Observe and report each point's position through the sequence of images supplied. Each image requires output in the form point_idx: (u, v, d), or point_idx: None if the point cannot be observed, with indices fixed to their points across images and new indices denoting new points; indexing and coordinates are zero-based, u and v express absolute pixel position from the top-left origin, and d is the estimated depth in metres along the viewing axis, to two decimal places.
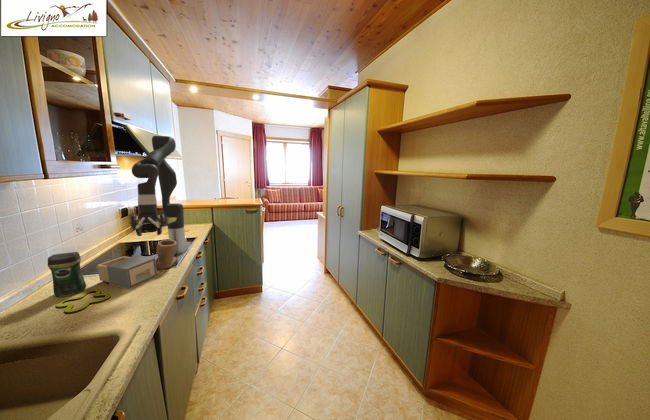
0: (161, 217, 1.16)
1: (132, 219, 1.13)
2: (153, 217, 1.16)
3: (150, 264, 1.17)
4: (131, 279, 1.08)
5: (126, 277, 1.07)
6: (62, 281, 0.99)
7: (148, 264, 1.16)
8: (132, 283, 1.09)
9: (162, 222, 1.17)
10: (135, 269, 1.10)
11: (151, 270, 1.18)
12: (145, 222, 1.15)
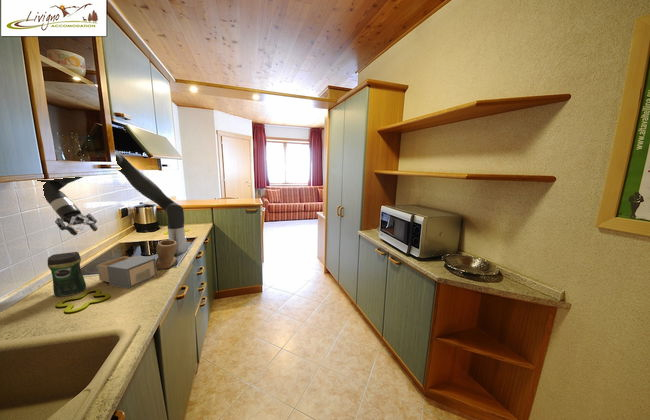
0: None
1: None
2: None
3: (150, 264, 1.17)
4: (131, 279, 1.08)
5: (126, 277, 1.07)
6: (62, 281, 0.99)
7: (148, 264, 1.16)
8: (132, 283, 1.09)
9: None
10: (135, 269, 1.10)
11: (151, 270, 1.18)
12: None
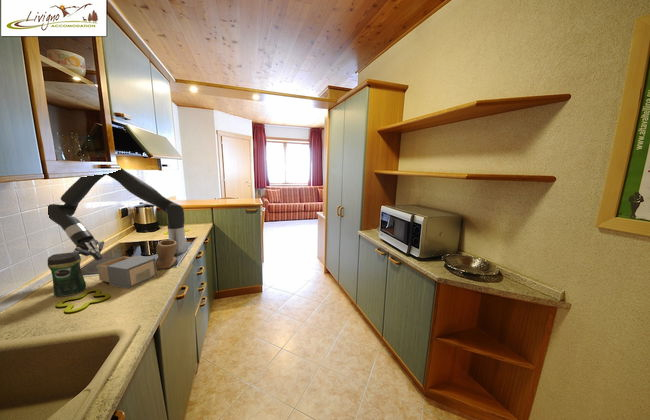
0: None
1: None
2: None
3: (150, 264, 1.17)
4: (131, 279, 1.08)
5: (126, 277, 1.07)
6: (62, 281, 0.99)
7: (148, 264, 1.16)
8: (132, 283, 1.09)
9: None
10: (135, 269, 1.10)
11: (151, 270, 1.18)
12: None
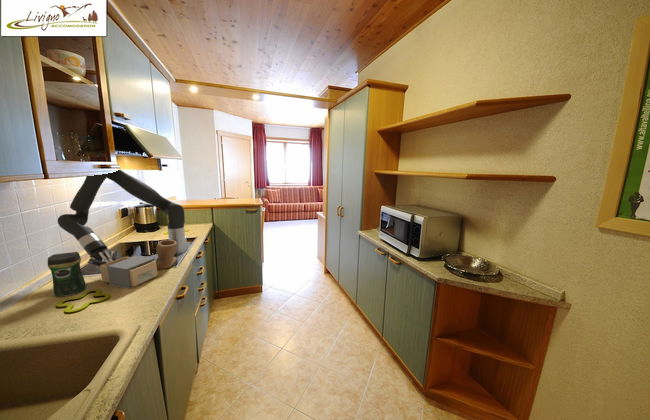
0: None
1: None
2: None
3: (153, 264, 1.17)
4: (134, 279, 1.08)
5: (126, 277, 1.07)
6: (62, 281, 0.99)
7: (151, 264, 1.16)
8: (135, 283, 1.08)
9: None
10: (138, 269, 1.09)
11: (153, 270, 1.17)
12: None
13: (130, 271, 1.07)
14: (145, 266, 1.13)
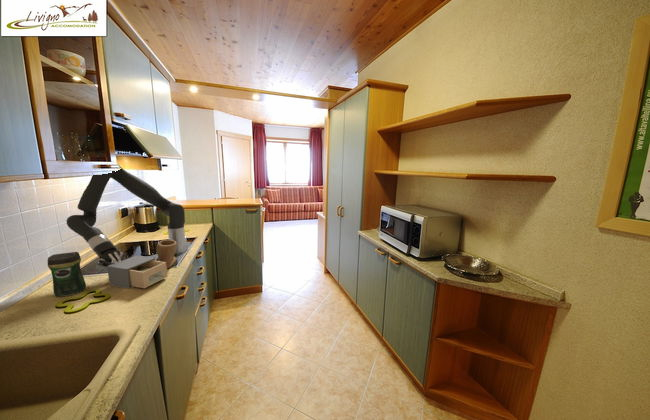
0: None
1: None
2: None
3: (163, 266, 1.15)
4: (144, 281, 1.06)
5: (126, 277, 1.07)
6: (62, 281, 0.99)
7: (161, 266, 1.14)
8: (145, 285, 1.07)
9: None
10: (148, 271, 1.08)
11: (163, 271, 1.16)
12: None
13: (141, 273, 1.05)
14: (155, 268, 1.11)
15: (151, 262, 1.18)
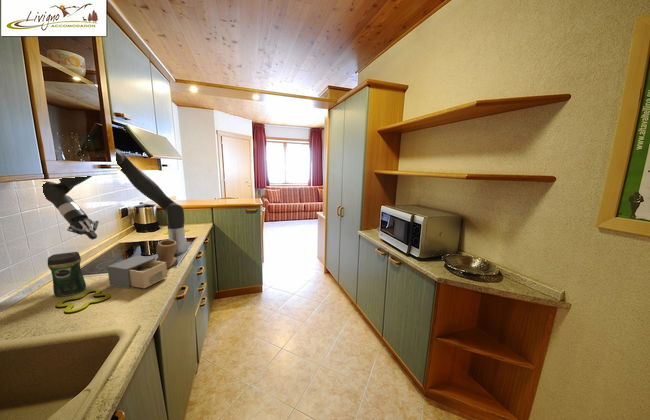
0: None
1: None
2: None
3: (163, 266, 1.15)
4: (144, 281, 1.06)
5: (126, 277, 1.07)
6: (62, 281, 0.99)
7: (161, 266, 1.14)
8: (145, 285, 1.07)
9: None
10: (148, 271, 1.08)
11: (163, 271, 1.16)
12: None
13: (141, 273, 1.05)
14: (155, 268, 1.11)
15: (151, 262, 1.18)
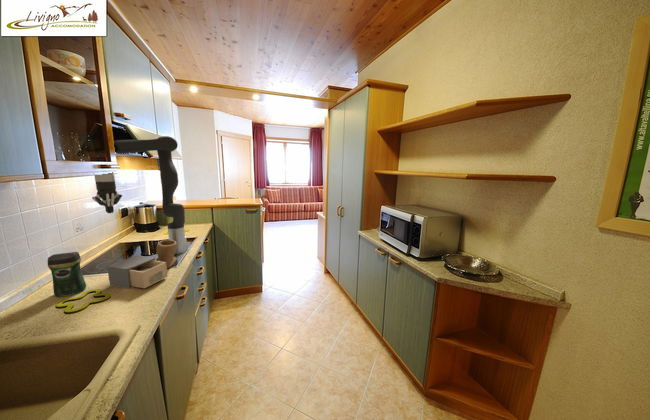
0: None
1: None
2: None
3: (163, 266, 1.15)
4: (144, 281, 1.06)
5: (126, 277, 1.07)
6: (62, 281, 0.99)
7: (161, 266, 1.14)
8: (145, 285, 1.07)
9: None
10: (148, 271, 1.08)
11: (163, 271, 1.16)
12: None
13: (141, 273, 1.05)
14: (155, 268, 1.11)
15: (151, 262, 1.18)
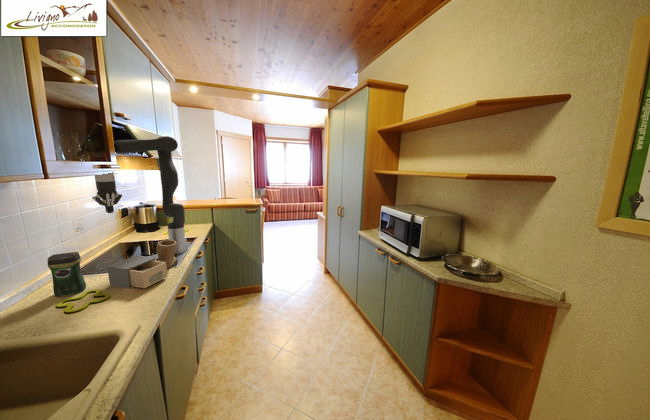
0: None
1: None
2: None
3: (163, 266, 1.15)
4: (144, 281, 1.06)
5: (126, 277, 1.07)
6: (62, 281, 0.99)
7: (161, 266, 1.14)
8: (145, 285, 1.07)
9: None
10: (148, 271, 1.08)
11: (163, 271, 1.16)
12: None
13: (141, 273, 1.05)
14: (155, 268, 1.11)
15: (151, 262, 1.18)
